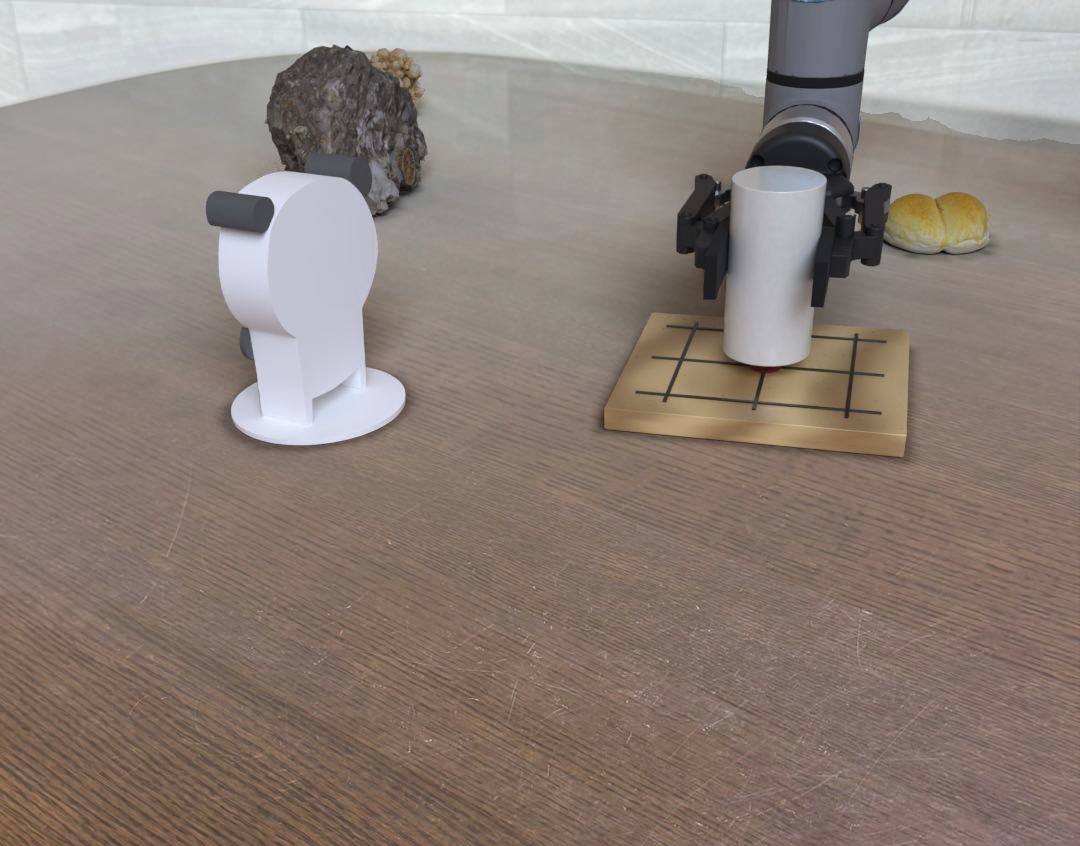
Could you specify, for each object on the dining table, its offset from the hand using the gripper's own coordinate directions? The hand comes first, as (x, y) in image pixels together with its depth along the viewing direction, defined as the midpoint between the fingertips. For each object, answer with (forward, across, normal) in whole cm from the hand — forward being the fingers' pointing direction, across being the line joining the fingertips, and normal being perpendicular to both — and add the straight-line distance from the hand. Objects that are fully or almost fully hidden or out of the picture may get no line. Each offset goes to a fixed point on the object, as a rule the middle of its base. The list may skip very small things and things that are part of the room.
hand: (764, 281), depth 70 cm
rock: (-40, +44, -10) cm, 60 cm away
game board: (-5, 0, -9) cm, 11 cm away
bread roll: (-37, -11, -9) cm, 40 cm away
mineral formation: (-71, +56, -10) cm, 91 cm away
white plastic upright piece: (+3, +28, -10) cm, 30 cm away
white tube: (-5, 0, -6) cm, 8 cm away
